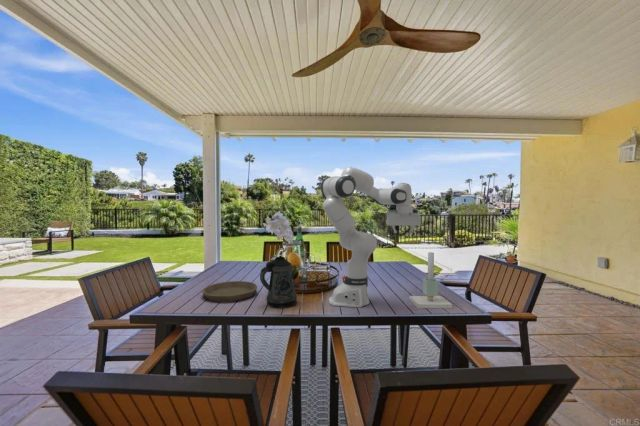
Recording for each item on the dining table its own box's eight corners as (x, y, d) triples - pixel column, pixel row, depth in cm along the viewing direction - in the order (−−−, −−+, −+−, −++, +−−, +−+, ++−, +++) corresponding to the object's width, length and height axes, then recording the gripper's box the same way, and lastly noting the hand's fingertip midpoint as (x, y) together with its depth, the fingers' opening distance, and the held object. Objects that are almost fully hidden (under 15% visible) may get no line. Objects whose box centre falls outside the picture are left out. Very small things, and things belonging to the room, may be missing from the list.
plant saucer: (190, 301, 165) (190, 292, 165) (221, 286, 195) (221, 279, 195) (241, 306, 158) (241, 297, 157) (265, 289, 188) (265, 282, 188)
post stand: (418, 308, 156) (419, 255, 155) (409, 299, 170) (410, 250, 169) (452, 308, 156) (453, 255, 155) (440, 299, 170) (441, 250, 169)
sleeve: (426, 295, 160) (427, 281, 159) (422, 292, 166) (422, 278, 166) (438, 295, 160) (438, 281, 160) (433, 292, 166) (433, 278, 166)
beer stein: (302, 301, 165) (302, 256, 164) (280, 312, 148) (281, 262, 148) (279, 296, 174) (279, 253, 173) (256, 306, 157) (256, 259, 156)
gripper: (387, 210, 176) (387, 233, 176) (422, 210, 176) (421, 233, 177) (385, 209, 182) (384, 232, 183) (418, 210, 183) (417, 232, 183)
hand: (403, 233), depth 180 cm, fingers open, 8 cm apart
